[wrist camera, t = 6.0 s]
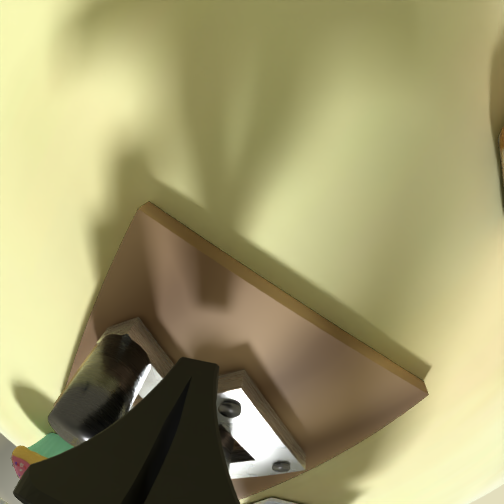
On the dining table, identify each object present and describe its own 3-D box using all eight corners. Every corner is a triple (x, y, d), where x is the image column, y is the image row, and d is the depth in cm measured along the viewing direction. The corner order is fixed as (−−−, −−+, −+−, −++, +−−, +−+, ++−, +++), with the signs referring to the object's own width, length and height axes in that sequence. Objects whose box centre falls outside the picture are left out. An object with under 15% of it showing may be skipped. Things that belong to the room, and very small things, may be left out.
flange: (305, 453, 16) (302, 537, 10) (192, 466, 18) (173, 534, 13) (194, 291, 12) (136, 409, 7) (69, 336, 14) (9, 413, 9)
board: (423, 381, 14) (428, 394, 13) (240, 490, 21) (239, 499, 20) (148, 201, 12) (138, 208, 11) (64, 401, 19) (59, 410, 18)
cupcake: (107, 477, 25) (73, 561, 14) (43, 445, 25) (2, 518, 14) (98, 446, 21) (50, 551, 10) (23, 405, 21) (-34, 492, 10)
